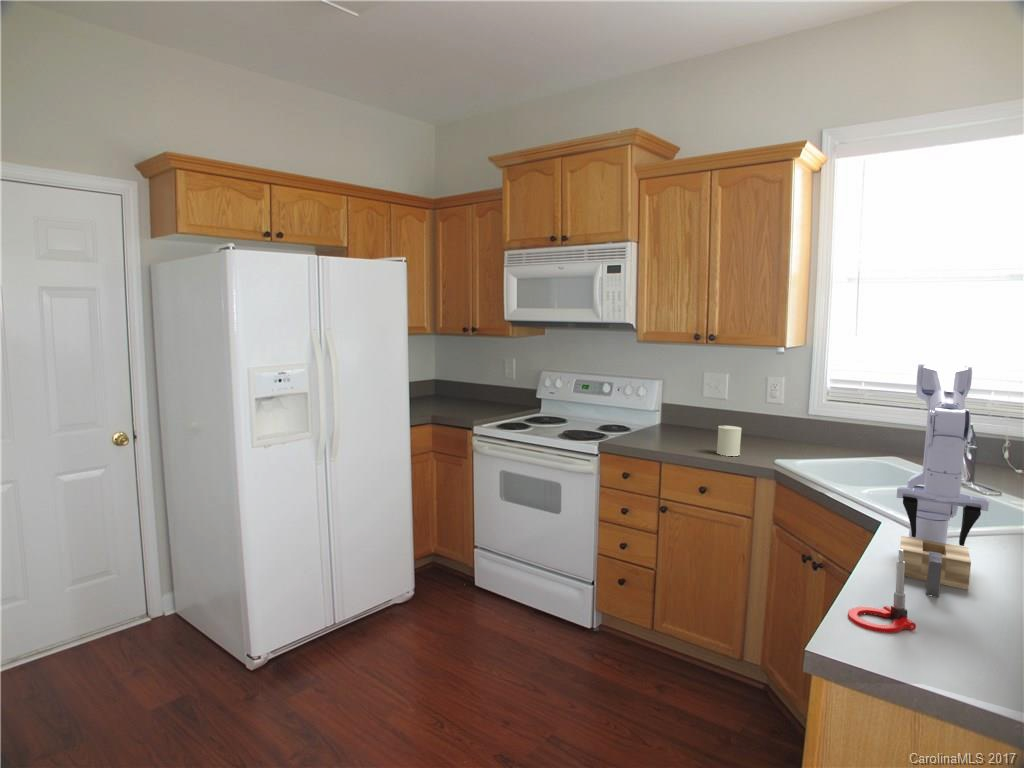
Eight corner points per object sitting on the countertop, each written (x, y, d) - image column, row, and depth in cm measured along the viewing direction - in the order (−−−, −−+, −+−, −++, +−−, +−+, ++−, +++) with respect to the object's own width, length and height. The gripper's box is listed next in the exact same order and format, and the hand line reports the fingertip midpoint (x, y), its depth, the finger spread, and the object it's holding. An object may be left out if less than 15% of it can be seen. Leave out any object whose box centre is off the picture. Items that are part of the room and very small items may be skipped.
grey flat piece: (925, 585, 126) (929, 551, 125) (938, 587, 125) (941, 553, 124) (926, 596, 120) (929, 561, 119) (938, 599, 119) (942, 563, 118)
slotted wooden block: (899, 559, 140) (901, 535, 139) (965, 572, 133) (967, 547, 133) (897, 574, 131) (899, 549, 130) (968, 589, 124) (971, 562, 124)
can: (722, 451, 264) (724, 423, 263) (743, 455, 258) (745, 426, 257) (712, 454, 257) (714, 425, 256) (733, 458, 251) (735, 428, 250)
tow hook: (867, 636, 104) (920, 633, 105) (870, 560, 103) (923, 558, 104) (837, 614, 112) (886, 611, 113) (839, 543, 111) (889, 541, 112)
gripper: (898, 468, 121) (892, 537, 122) (993, 480, 113) (985, 554, 114) (900, 463, 127) (894, 528, 128) (989, 474, 119) (982, 543, 120)
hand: (937, 540), depth 122 cm, fingers open, 7 cm apart
